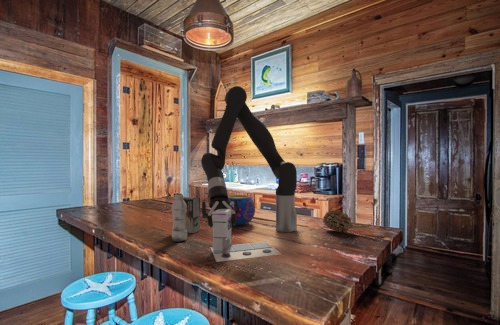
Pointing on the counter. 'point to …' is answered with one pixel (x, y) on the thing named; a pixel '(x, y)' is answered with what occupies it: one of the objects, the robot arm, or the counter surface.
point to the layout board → (247, 251)
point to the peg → (226, 247)
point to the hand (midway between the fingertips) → (223, 225)
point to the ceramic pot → (243, 208)
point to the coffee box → (192, 214)
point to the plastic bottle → (179, 218)
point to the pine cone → (340, 221)
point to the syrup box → (221, 228)
